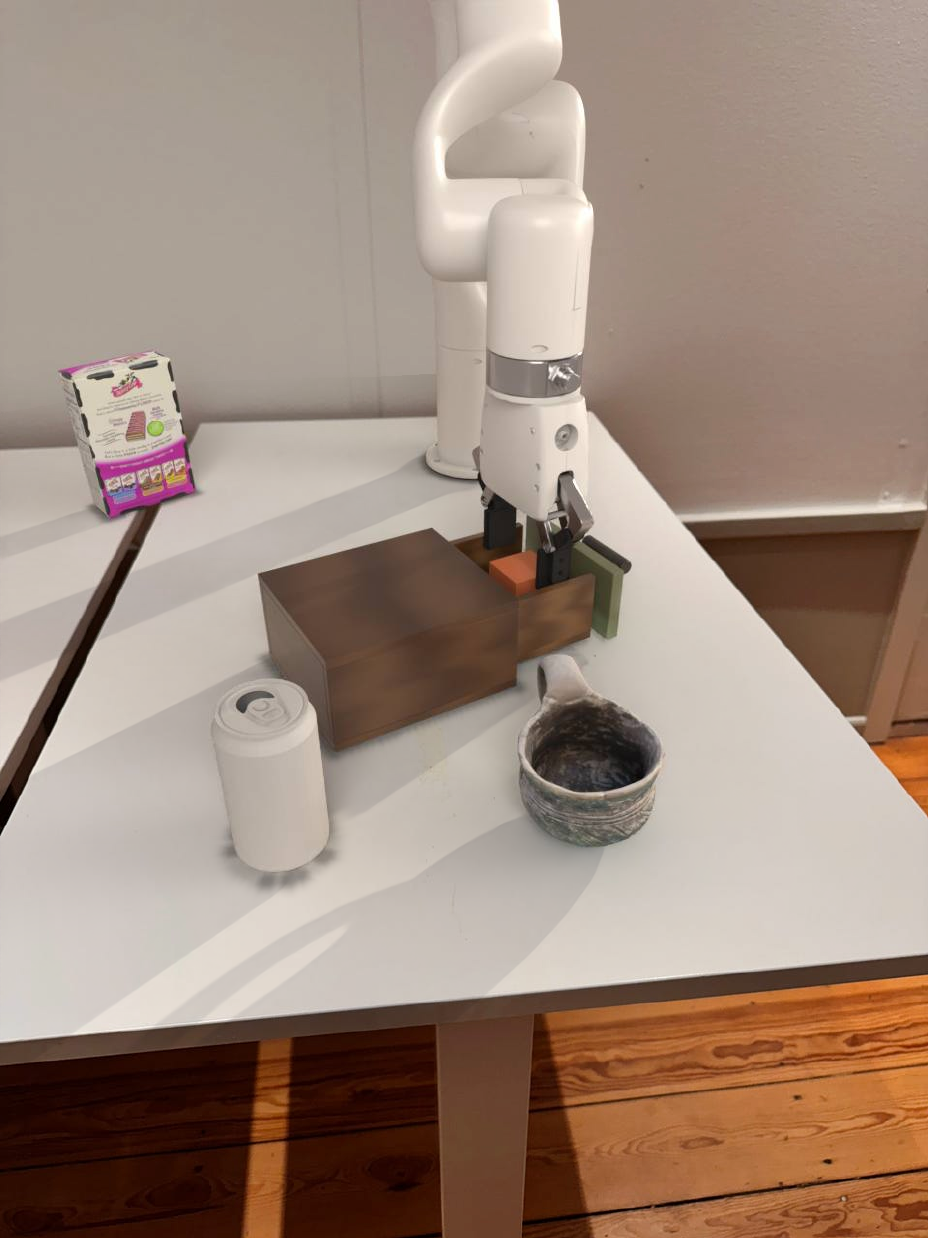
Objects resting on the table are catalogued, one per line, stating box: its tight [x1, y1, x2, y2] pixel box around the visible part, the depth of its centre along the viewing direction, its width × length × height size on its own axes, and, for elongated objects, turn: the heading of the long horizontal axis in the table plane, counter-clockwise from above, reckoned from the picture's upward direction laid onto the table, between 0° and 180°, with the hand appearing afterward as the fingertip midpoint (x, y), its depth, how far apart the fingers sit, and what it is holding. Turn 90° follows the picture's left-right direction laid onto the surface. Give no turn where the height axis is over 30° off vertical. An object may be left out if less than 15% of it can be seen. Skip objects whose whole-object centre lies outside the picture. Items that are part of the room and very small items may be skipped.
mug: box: [517, 653, 666, 848], centre depth 60 cm, size 10×12×10 cm
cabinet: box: [257, 527, 520, 753], centre depth 74 cm, size 17×15×9 cm
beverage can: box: [210, 677, 330, 873], centre depth 57 cm, size 6×6×12 cm
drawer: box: [448, 515, 633, 664], centre depth 80 cm, size 20×13×7 cm
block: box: [489, 550, 537, 597], centre depth 80 cm, size 4×4×4 cm
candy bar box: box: [57, 350, 197, 519], centre depth 101 cm, size 11×5×16 cm, turn 131°
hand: (524, 564), depth 78 cm, fingers open, 7 cm apart
